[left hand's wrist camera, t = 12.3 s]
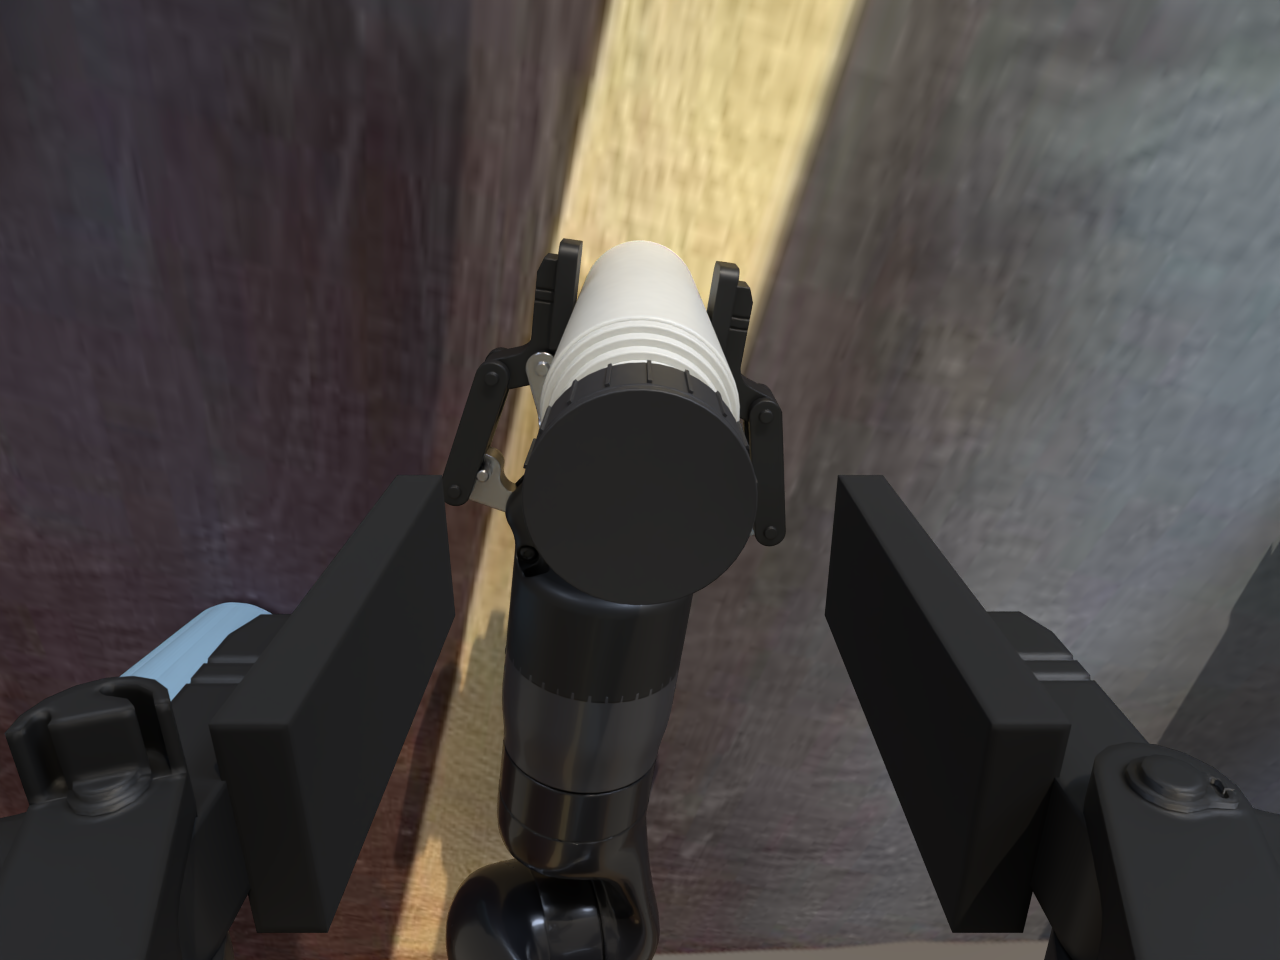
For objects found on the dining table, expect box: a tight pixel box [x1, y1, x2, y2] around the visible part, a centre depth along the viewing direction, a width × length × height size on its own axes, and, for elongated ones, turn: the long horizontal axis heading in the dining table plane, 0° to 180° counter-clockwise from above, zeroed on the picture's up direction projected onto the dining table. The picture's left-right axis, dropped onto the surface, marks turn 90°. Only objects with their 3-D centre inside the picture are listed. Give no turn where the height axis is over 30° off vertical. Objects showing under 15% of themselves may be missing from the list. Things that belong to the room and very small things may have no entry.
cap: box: [522, 360, 758, 605], centre depth 16 cm, size 4×4×2 cm
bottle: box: [539, 240, 740, 425], centre depth 26 cm, size 5×5×22 cm
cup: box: [120, 602, 271, 701], centre depth 38 cm, size 8×8×10 cm
